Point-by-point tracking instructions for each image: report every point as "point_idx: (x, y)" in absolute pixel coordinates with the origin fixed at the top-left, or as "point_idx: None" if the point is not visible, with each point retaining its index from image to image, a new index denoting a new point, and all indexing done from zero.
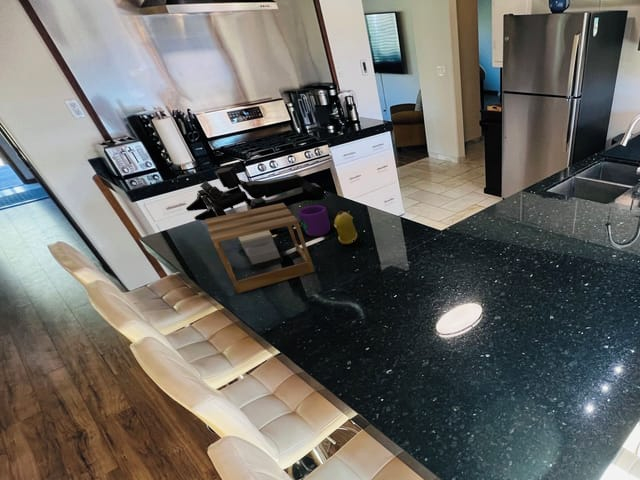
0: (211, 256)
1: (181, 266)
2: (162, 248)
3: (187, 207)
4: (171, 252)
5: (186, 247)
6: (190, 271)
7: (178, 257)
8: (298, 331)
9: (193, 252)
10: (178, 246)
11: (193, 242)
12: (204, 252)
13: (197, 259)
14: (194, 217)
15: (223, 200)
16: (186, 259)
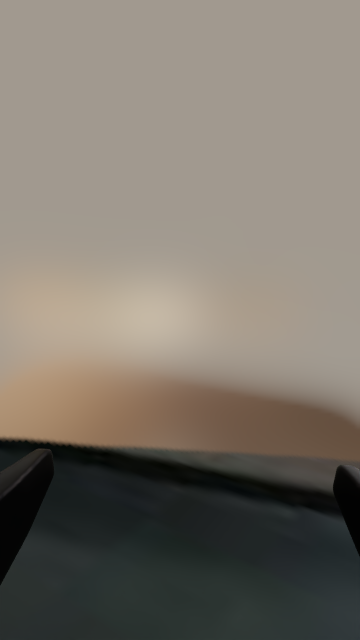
0: (28, 608)
1: (91, 446)
2: (321, 468)
3: (354, 476)
4: (258, 474)
5: (286, 547)
6: (11, 447)
7: (185, 471)
8: None
9: (190, 544)
10: (319, 522)
11: (356, 622)
12: (135, 601)
13: (85, 518)
14: (41, 449)
15: None
16: (136, 484)
